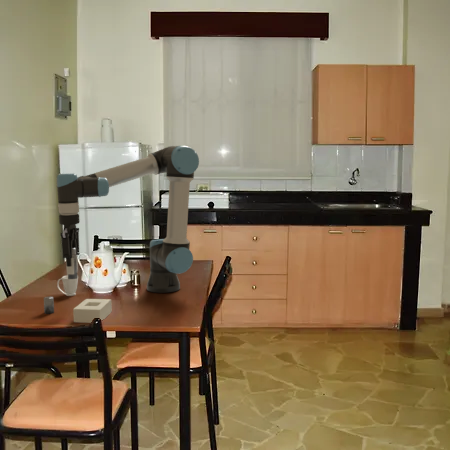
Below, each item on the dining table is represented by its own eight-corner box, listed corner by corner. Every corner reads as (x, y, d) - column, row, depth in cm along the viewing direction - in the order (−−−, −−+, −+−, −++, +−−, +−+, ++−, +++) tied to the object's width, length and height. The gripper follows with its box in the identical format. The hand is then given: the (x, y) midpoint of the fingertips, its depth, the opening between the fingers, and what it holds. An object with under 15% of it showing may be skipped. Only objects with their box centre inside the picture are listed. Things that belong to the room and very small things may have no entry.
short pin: (55, 311, 212) (54, 296, 211) (51, 314, 208) (51, 298, 208) (46, 311, 212) (46, 296, 212) (42, 313, 209) (42, 298, 208)
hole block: (111, 311, 211) (111, 299, 211) (100, 322, 197) (99, 309, 197) (86, 311, 212) (86, 298, 211) (73, 322, 198) (73, 309, 198)
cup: (73, 297, 233) (72, 279, 232) (53, 295, 235) (52, 277, 234) (82, 293, 239) (81, 275, 238) (62, 291, 242) (61, 274, 241)
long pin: (78, 277, 214) (77, 247, 212) (75, 279, 210) (73, 249, 209) (70, 277, 214) (68, 247, 212) (66, 279, 211) (64, 248, 209)
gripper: (67, 211, 217) (71, 268, 220) (50, 216, 201) (54, 278, 204) (85, 211, 216) (89, 268, 220) (70, 216, 200) (74, 278, 203)
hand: (72, 272), depth 212 cm, fingers closed on long pin, 3 cm apart
